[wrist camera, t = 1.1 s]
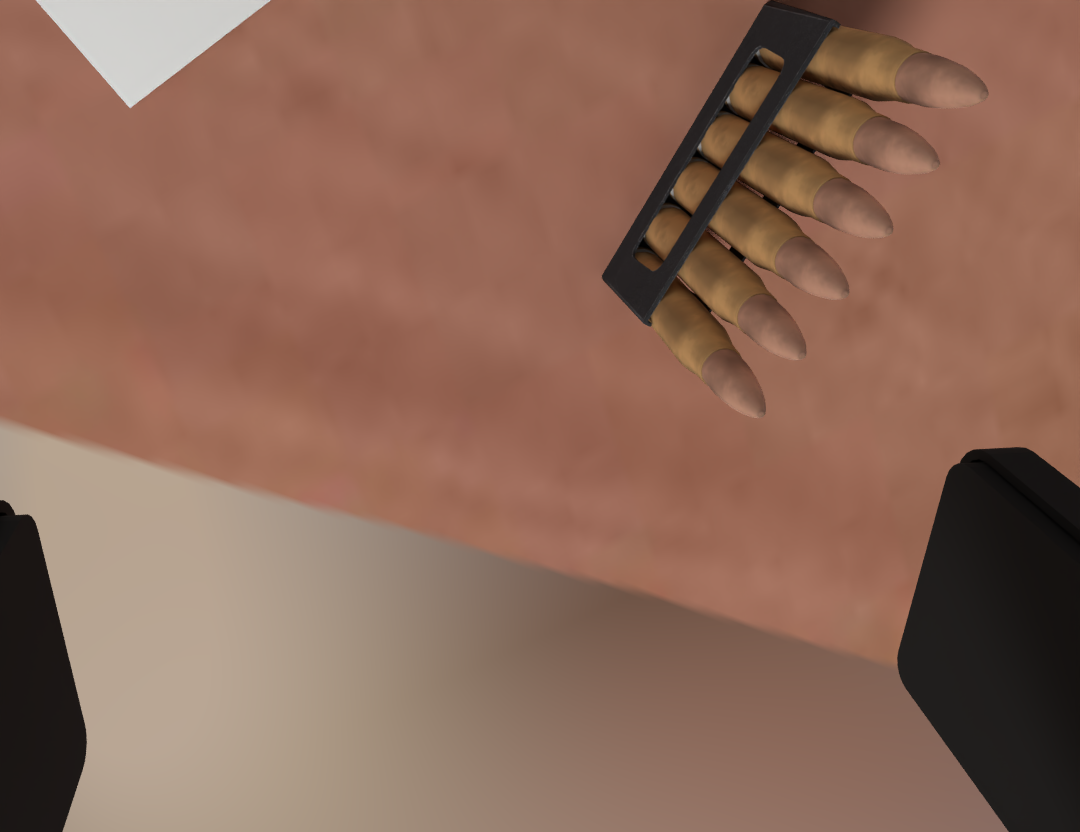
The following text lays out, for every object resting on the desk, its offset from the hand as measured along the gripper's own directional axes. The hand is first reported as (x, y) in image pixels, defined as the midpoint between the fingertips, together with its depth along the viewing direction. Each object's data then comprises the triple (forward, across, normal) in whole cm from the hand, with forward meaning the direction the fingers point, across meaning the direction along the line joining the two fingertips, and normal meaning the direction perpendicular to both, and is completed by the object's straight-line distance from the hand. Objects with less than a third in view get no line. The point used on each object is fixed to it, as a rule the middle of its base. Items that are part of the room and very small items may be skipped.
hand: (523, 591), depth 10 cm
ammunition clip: (+24, -10, +1) cm, 26 cm away
